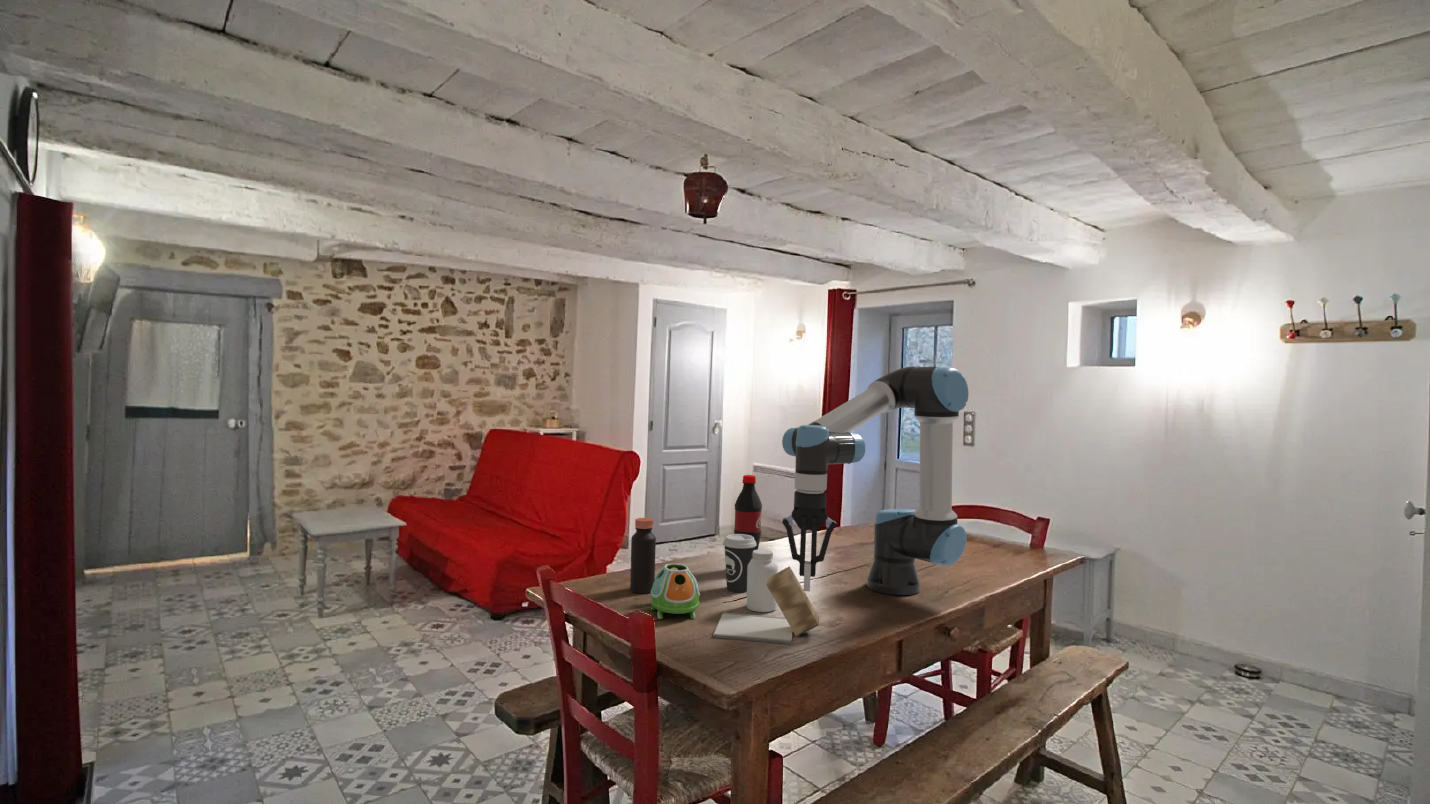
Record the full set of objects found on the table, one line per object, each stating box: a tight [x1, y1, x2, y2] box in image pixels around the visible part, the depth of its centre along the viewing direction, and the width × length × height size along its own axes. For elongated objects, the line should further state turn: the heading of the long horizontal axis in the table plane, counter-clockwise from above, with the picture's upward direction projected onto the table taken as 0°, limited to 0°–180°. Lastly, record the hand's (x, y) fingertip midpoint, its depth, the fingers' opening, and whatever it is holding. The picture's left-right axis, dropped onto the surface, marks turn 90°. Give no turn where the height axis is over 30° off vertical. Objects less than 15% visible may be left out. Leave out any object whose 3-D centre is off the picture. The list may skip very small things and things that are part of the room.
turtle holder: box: [650, 563, 701, 620], centre depth 186 cm, size 12×18×12 cm
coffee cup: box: [722, 533, 756, 594], centre depth 206 cm, size 10×10×15 cm
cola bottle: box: [733, 474, 763, 550], centre depth 225 cm, size 8×8×30 cm
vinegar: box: [629, 517, 657, 595], centre depth 202 cm, size 7×7×20 cm
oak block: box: [766, 566, 820, 638], centre depth 173 cm, size 6×6×14 cm
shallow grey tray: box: [712, 612, 794, 645], centre depth 174 cm, size 18×16×1 cm
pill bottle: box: [746, 548, 779, 613], centre depth 190 cm, size 8×8×15 cm
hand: (806, 589), depth 172 cm, fingers closed
